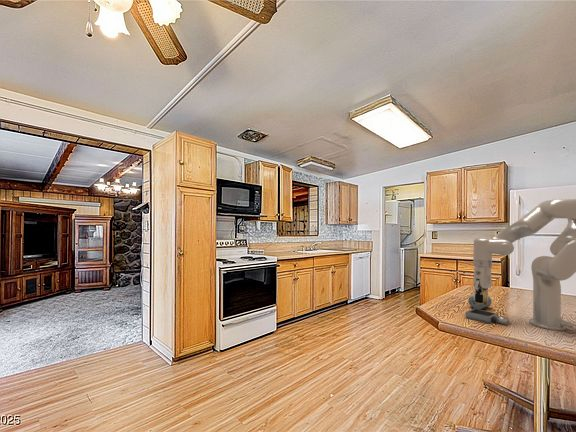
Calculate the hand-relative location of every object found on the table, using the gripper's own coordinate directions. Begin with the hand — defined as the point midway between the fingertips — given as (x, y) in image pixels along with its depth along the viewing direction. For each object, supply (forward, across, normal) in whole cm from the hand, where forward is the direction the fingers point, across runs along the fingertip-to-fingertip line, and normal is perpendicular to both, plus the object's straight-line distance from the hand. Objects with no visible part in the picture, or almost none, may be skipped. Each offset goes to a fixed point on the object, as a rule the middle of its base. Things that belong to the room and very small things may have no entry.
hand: (481, 301), depth 141 cm
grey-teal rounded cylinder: (+9, +21, +8) cm, 24 cm away
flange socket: (+8, 0, -3) cm, 9 cm away
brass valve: (+1, 0, 0) cm, 1 cm away
